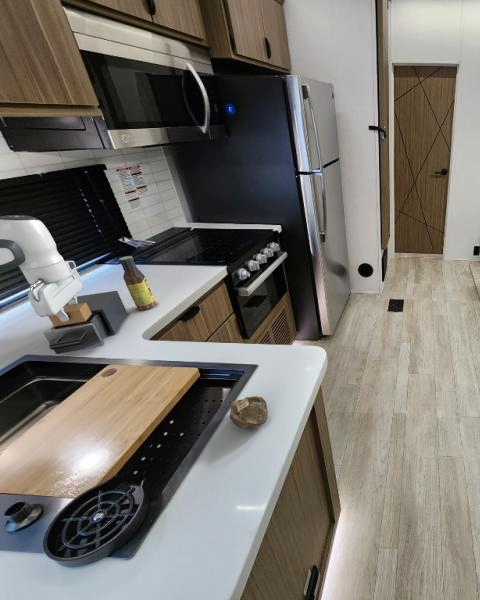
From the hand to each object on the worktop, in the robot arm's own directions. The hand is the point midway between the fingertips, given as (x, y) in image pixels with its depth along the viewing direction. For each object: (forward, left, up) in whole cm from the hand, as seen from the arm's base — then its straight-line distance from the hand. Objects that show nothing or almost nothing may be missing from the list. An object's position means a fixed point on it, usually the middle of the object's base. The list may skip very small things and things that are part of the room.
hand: (70, 315), depth 100 cm
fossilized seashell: (+48, -53, -11) cm, 72 cm away
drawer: (0, 0, -10) cm, 10 cm away
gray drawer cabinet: (0, +11, -11) cm, 15 cm away
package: (0, 0, -2) cm, 2 cm away
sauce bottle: (+12, +22, -11) cm, 27 cm away
